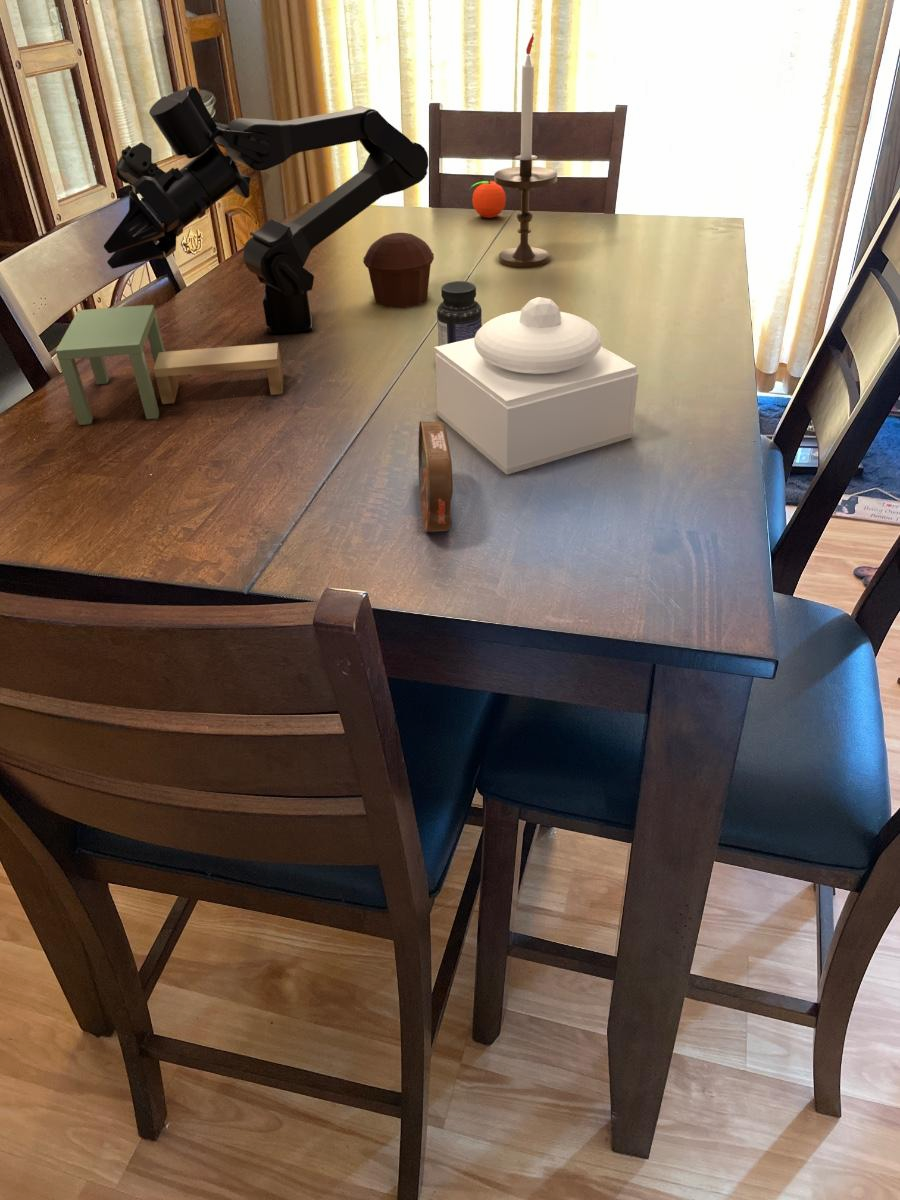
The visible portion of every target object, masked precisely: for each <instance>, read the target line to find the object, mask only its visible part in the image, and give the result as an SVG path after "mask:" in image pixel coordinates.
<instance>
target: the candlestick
mask: <svg viewBox="0 0 900 1200" xmlns="http://www.w3.org/2000/svg"><path fill="white" fill-rule="evenodd" d="M534 40H535V37H534V32H532V33H531V37H530V39H529V41H528V44H527V46H526V49H525V51H526V59H525V62H524V65H522V66H521V67H522V68H521V75H522V76H521V113H520V114H521V115H520V119H521V120H520V124H521V125H520V154H519V155H515V156H514V159H515V160H518V161H519V166H514V167H507V168H502V169H500V170H497V171H495V172H494V175H493V181H494V182H495V183H496V184H498V185H500V186H501V187H504V188H510V189H511V188H512V189H517V190H518V191H520V193H521V194H520V197H521V198H520V205H521V206H520V212H519V213H517V214H516V218H517V219H516V220H517V221H518V222H519V228H517V233H519V234H520V242H519V244H518V245H517V247H510V248H506V249H504V250H502V251H500V252H499V253H498V261H499V263H500V264H502V265H504V266H507V267H511V268H519V269H520V268H521V269H522V268H535V267H540V266H543V265H545V264H547V263H548V262H549V260H550V259H549V258H550V257H549V256H550V254H549V252H548V251H547V250H545V249H543V248H540V247H539V248H538V247H532V246H530V244H529V234H530V233H532V229H531V228H530V222H531V221H532V219H533V213H531V212H530V209H529V208H530V191H532V190H534V189H536V188H537V189H538V188H545V187H548V186H553V185H554V184H556V183H557V182H558V172H557V171H556V170H554V169H552V168H547V167H542V166H533V160H537V159H538V158H539V157H538V156H537V155H534V154H533V120H534V119H533V118H534V117H533V116H534V81H535V80H534V79H535V77H534V75H535V66H534V65H533V64H532V60H531V52H532V48H533V42H534Z"/></svg>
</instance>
